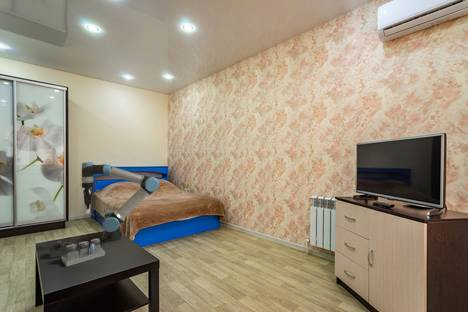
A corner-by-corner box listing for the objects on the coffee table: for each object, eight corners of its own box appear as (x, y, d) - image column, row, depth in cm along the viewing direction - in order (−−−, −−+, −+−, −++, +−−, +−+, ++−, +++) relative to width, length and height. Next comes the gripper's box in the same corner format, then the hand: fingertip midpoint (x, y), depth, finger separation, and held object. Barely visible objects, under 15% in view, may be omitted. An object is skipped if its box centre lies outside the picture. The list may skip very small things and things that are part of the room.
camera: (69, 250, 165) (69, 236, 165) (74, 253, 159) (74, 239, 159) (46, 256, 154) (46, 242, 154) (51, 260, 148) (51, 245, 148)
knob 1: (75, 253, 151) (75, 242, 151) (77, 255, 147) (77, 245, 147) (65, 256, 146) (65, 245, 147) (67, 258, 143) (67, 247, 143)
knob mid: (87, 250, 156) (87, 240, 156) (89, 252, 152) (89, 242, 152) (77, 253, 152) (77, 242, 152) (80, 255, 148) (80, 244, 148)
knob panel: (98, 249, 165) (98, 240, 165) (105, 255, 155) (105, 245, 155) (61, 260, 148) (61, 249, 148) (66, 266, 139) (66, 255, 139)
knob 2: (98, 247, 161) (98, 237, 161) (101, 249, 157) (101, 239, 157) (89, 249, 157) (89, 239, 157) (92, 251, 153) (92, 241, 153)
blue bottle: (92, 252, 153) (92, 243, 153) (94, 252, 152) (95, 243, 152) (88, 253, 150) (89, 244, 150) (91, 254, 150) (92, 245, 150)
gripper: (79, 182, 172) (79, 212, 172) (84, 183, 163) (84, 215, 163) (90, 181, 178) (90, 210, 177) (95, 182, 169) (96, 213, 169)
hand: (87, 212), depth 170 cm, fingers closed
